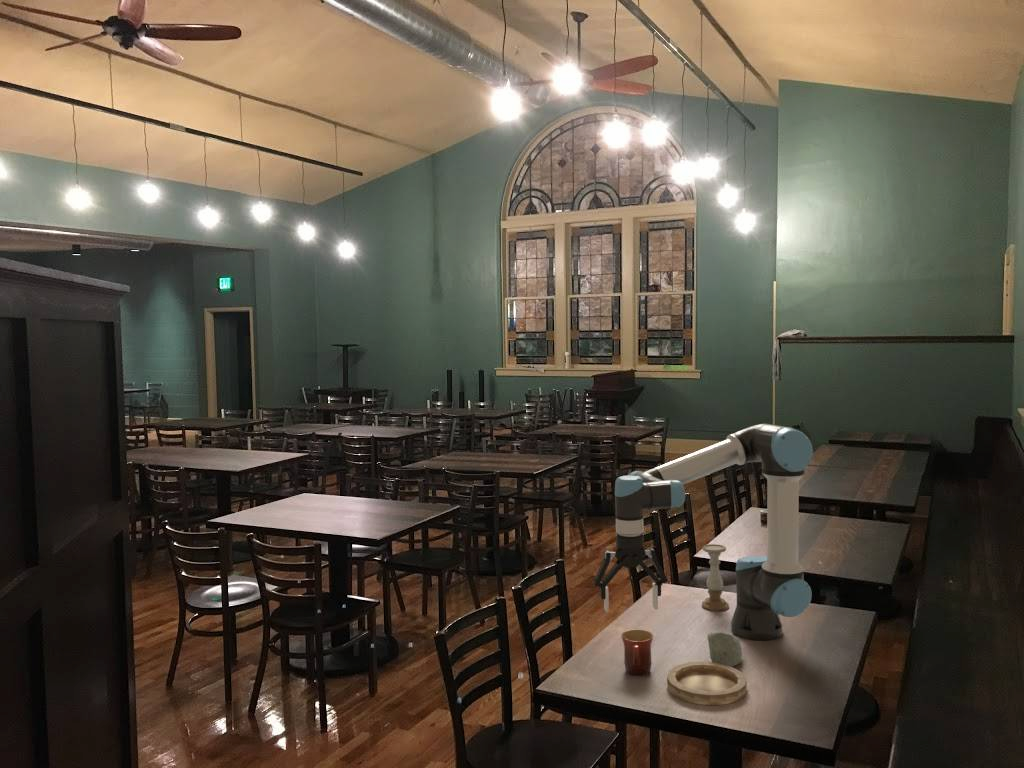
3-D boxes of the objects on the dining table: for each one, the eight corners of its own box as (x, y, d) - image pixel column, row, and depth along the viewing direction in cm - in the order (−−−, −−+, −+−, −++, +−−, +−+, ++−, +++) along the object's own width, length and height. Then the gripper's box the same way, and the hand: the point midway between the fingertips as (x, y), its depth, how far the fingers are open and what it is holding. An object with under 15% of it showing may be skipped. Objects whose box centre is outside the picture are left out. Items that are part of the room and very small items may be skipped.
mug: (623, 664, 237) (622, 628, 236) (654, 665, 235) (653, 629, 234) (620, 682, 225) (619, 645, 224) (653, 684, 223) (652, 646, 223)
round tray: (732, 669, 230) (731, 659, 230) (757, 702, 211) (757, 692, 210) (660, 673, 229) (659, 664, 229) (678, 707, 210) (678, 696, 209)
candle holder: (702, 611, 276) (701, 550, 275) (701, 601, 285) (699, 543, 283) (730, 611, 275) (729, 550, 273) (727, 602, 283) (726, 543, 282)
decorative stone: (731, 675, 227) (748, 641, 229) (695, 654, 232) (711, 621, 234) (735, 680, 238) (751, 648, 240) (700, 660, 243) (716, 629, 245)
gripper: (670, 527, 233) (671, 601, 235) (582, 531, 231) (583, 606, 233) (678, 534, 226) (679, 611, 227) (586, 538, 224) (588, 616, 225)
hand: (631, 609), depth 230 cm, fingers open, 13 cm apart
